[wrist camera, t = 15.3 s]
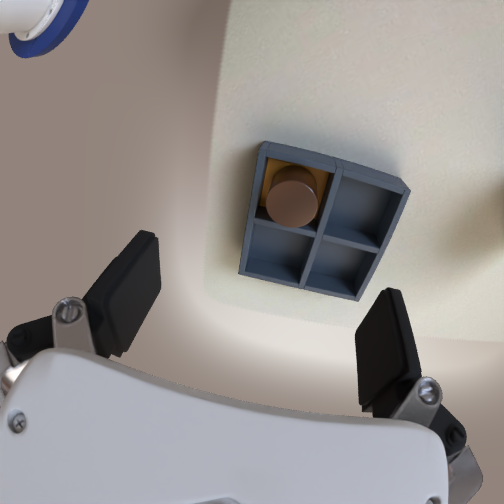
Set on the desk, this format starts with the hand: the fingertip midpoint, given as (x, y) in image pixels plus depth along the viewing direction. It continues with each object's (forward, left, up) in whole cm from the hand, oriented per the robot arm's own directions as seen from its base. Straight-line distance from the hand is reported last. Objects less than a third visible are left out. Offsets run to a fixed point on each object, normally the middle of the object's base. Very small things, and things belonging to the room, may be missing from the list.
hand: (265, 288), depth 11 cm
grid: (+6, -1, -16) cm, 17 cm away
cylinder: (+1, -1, -15) cm, 15 cm away
